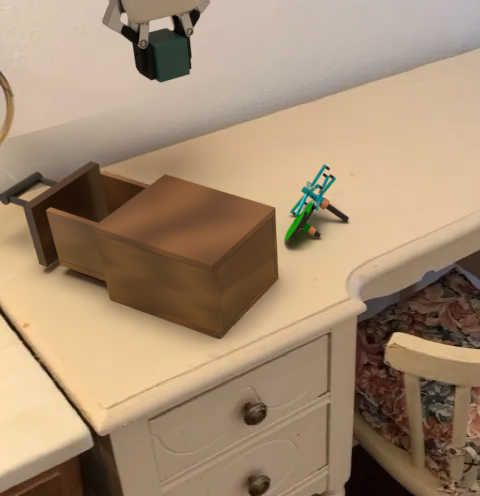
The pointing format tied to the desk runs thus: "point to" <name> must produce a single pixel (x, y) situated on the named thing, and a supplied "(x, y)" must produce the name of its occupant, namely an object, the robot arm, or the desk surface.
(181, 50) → the block
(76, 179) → the drawer
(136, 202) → the cabinet
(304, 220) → the stick construction toy
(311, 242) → the desk surface
